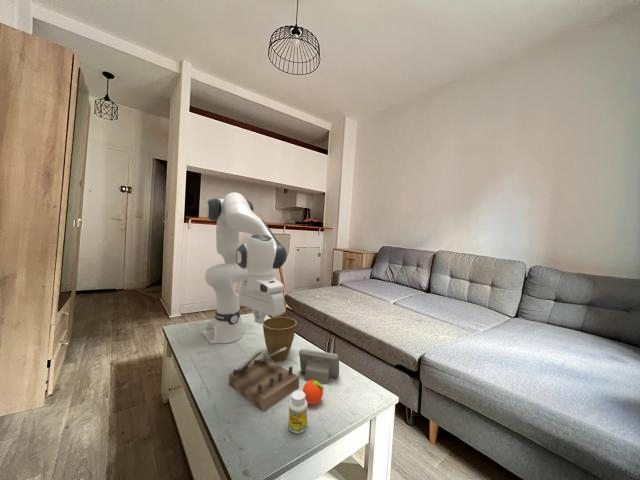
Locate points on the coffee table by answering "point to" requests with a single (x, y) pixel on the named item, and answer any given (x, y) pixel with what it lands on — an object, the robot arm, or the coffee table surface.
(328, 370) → the digital clock
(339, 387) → the coffee table surface
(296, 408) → the supplement bottle
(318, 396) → the clementine
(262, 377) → the strap base
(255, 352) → the near strap
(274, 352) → the strap
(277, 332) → the plant pot
